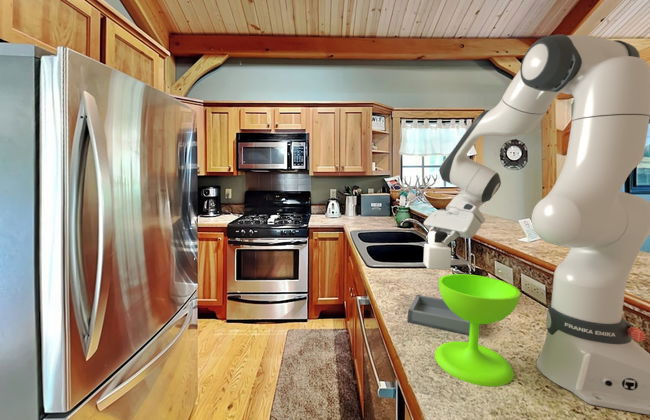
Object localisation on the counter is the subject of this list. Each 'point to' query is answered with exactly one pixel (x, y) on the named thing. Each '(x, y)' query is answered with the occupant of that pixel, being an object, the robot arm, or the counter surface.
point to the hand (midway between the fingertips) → (436, 241)
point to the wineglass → (476, 327)
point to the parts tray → (436, 315)
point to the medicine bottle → (437, 252)
